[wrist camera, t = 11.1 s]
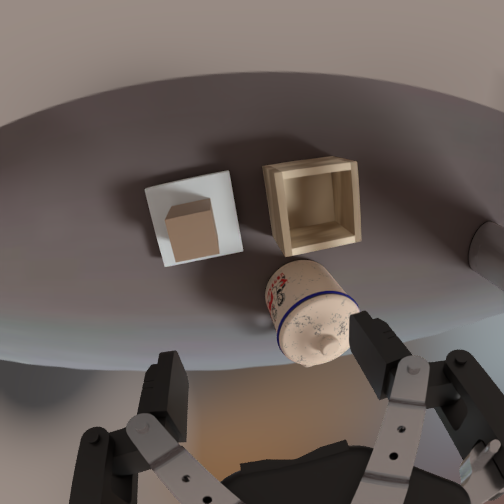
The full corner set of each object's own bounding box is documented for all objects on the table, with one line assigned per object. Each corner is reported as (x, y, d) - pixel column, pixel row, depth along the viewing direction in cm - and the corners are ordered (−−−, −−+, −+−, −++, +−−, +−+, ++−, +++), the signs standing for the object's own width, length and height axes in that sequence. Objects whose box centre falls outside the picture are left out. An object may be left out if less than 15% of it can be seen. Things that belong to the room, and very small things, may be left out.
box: (332, 156, 31) (356, 161, 26) (338, 223, 34) (361, 241, 29) (262, 166, 31) (274, 173, 25) (272, 236, 34) (285, 257, 28)
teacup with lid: (263, 258, 35) (287, 314, 24) (336, 254, 36) (382, 303, 25) (261, 340, 39) (279, 406, 29) (325, 333, 40) (357, 391, 30)
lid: (227, 169, 31) (232, 178, 24) (241, 244, 34) (249, 271, 27) (148, 186, 30) (132, 200, 24) (167, 259, 33) (158, 289, 27)
